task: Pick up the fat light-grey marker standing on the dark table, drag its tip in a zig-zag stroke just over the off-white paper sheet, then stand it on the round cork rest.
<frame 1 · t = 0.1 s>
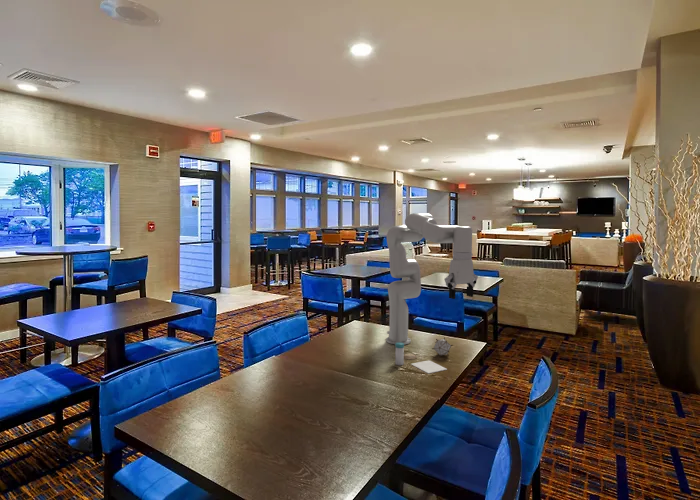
hand: (461, 297, 171), 31 cm above the table, fingers open, 9 cm apart
marker: (399, 363, 181), on the table
game die: (442, 355, 192), on the table
paper: (428, 367, 177), on the table
rest: (409, 357, 190), on the table
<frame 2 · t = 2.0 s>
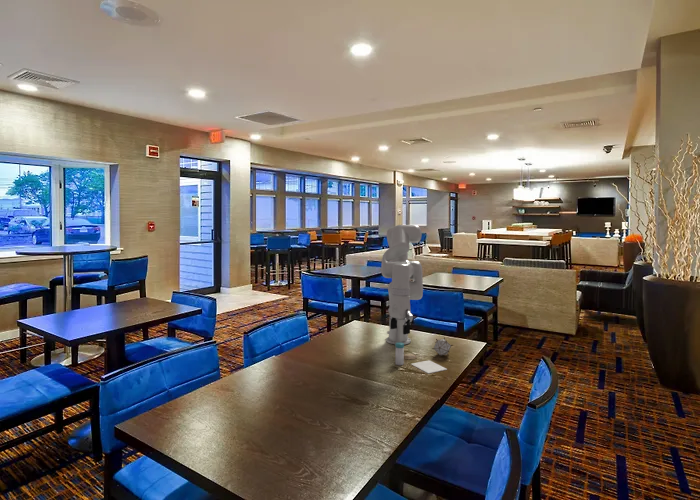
hand: (399, 331, 179), 15 cm above the table, fingers open, 9 cm apart
nothing on the table moved.
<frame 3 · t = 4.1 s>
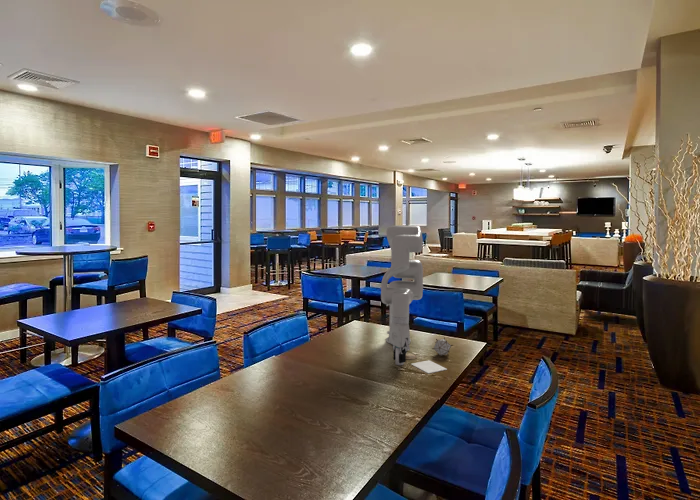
hand: (399, 360, 181), 1 cm above the table, fingers closed on marker, 3 cm apart
marker: (399, 363, 181), on the table, touching gripper
everything else where it was.
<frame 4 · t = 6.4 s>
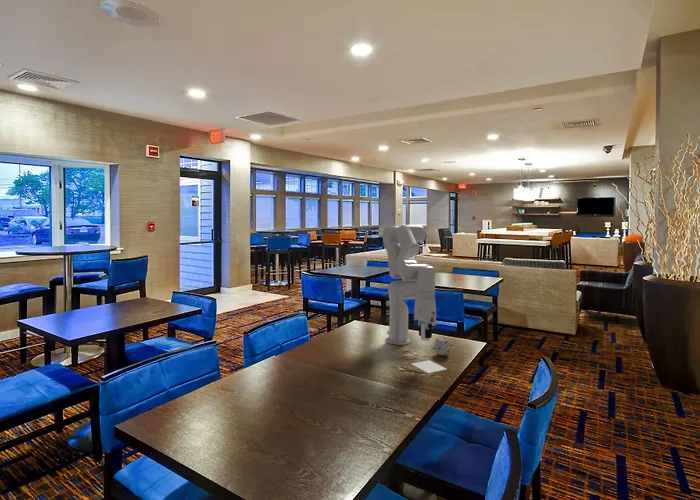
hand: (425, 336, 179), 13 cm above the table, fingers closed on marker, 3 cm apart
marker: (425, 339, 179), point 11 cm above the table, touching gripper
everything else where it was.
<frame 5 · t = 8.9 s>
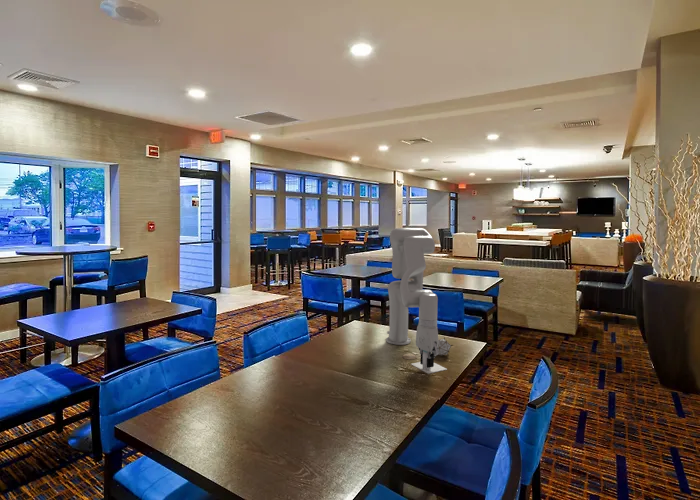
hand: (427, 364, 174), 2 cm above the table, fingers closed on marker, 3 cm apart
marker: (426, 368, 174), point 1 cm above the table, touching gripper
everything else where it was.
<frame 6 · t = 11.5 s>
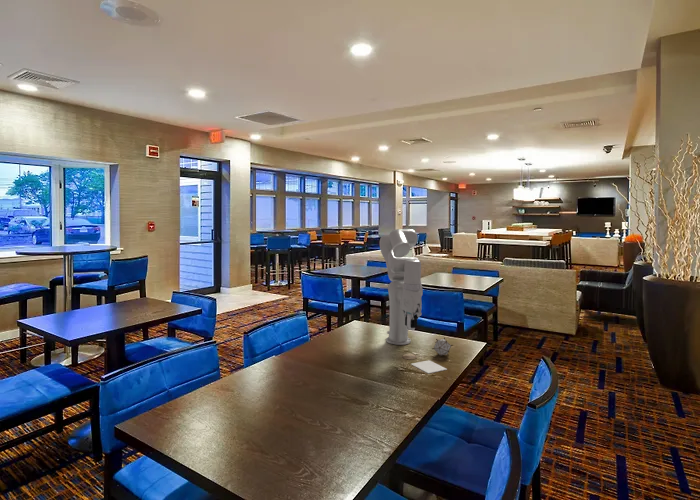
hand: (410, 325, 188), 15 cm above the table, fingers closed on marker, 3 cm apart
marker: (410, 329, 189), point 13 cm above the table, touching gripper
everything else where it was.
when the fingers open (3 cm above the table, at t = 13.8 s): marker drops 1 cm, resting on rest.
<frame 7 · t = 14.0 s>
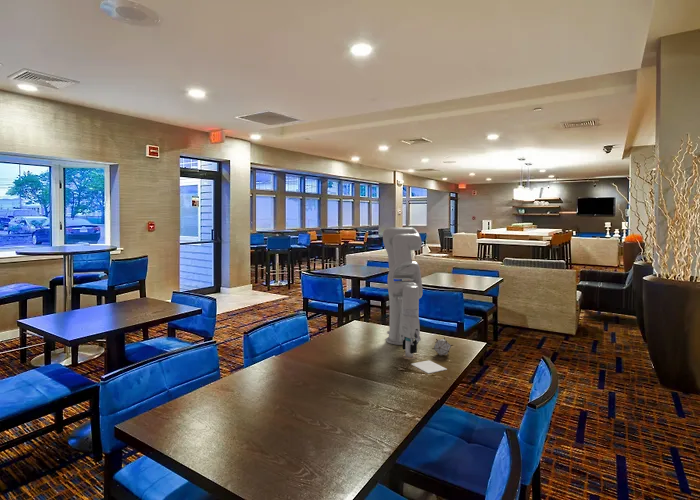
hand: (409, 350, 189), 3 cm above the table, fingers open, 5 cm apart
marker: (409, 356, 190), resting on rest
everything else where it was.
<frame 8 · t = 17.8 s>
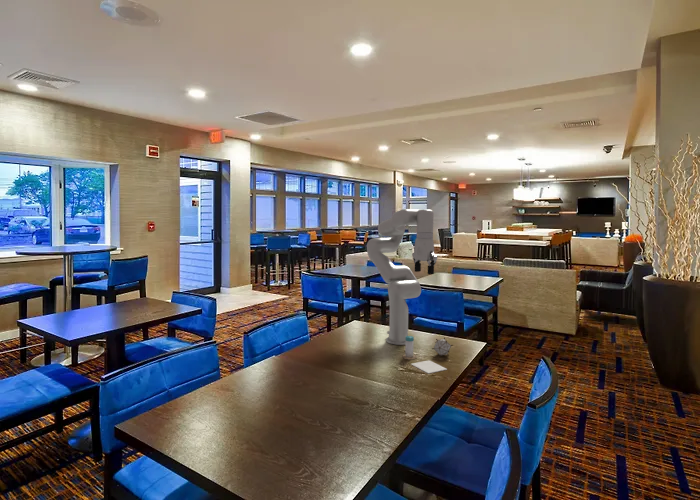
hand: (424, 272, 193), 38 cm above the table, fingers open, 9 cm apart
nothing on the table moved.
at the end: marker inside the target area on the rest (0.1 cm from its centre), point 0.4 cm above the rest's base; marker tilted 0°; the gripper is holding nothing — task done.
